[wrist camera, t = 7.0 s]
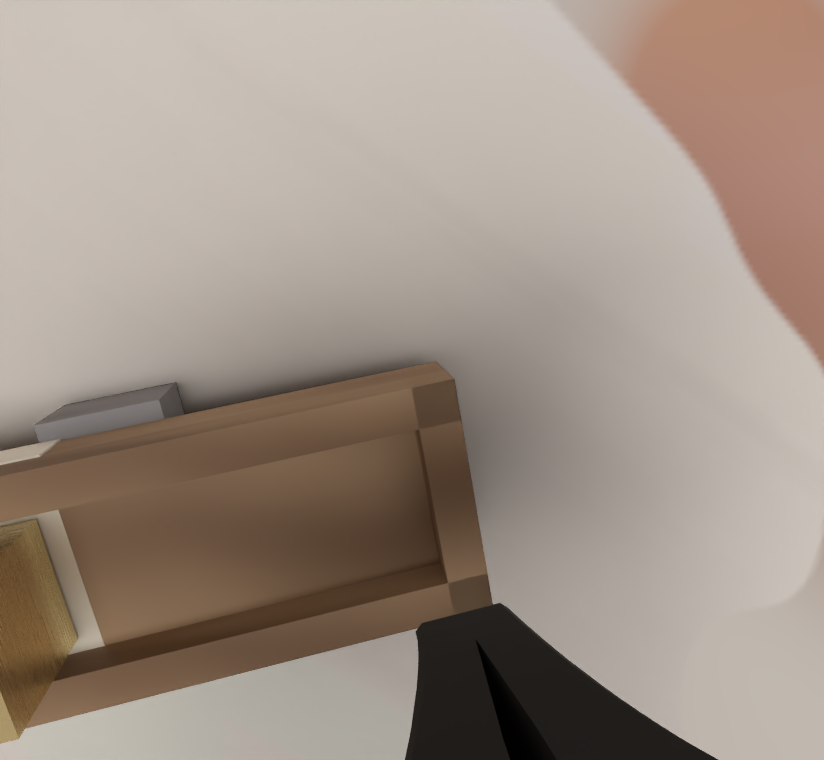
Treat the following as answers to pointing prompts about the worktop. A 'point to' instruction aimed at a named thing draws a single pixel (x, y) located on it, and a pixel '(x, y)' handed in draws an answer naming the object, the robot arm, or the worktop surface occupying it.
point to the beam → (246, 528)
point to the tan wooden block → (28, 626)
